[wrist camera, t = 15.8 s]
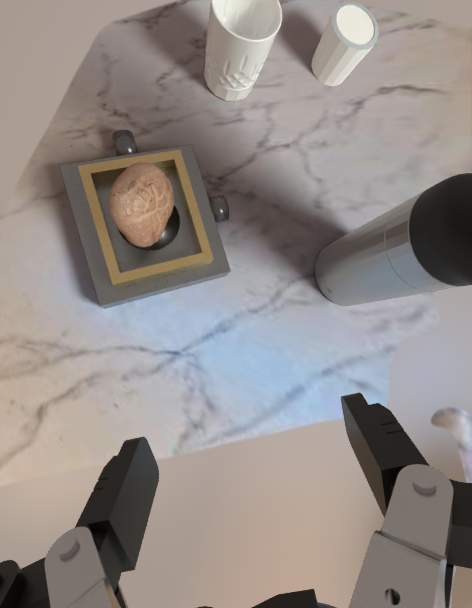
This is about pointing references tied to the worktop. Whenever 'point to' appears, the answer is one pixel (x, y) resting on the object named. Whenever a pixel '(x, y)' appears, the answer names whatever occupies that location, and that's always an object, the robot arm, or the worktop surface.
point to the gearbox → (176, 236)
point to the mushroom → (141, 203)
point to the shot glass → (344, 42)
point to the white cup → (239, 44)
